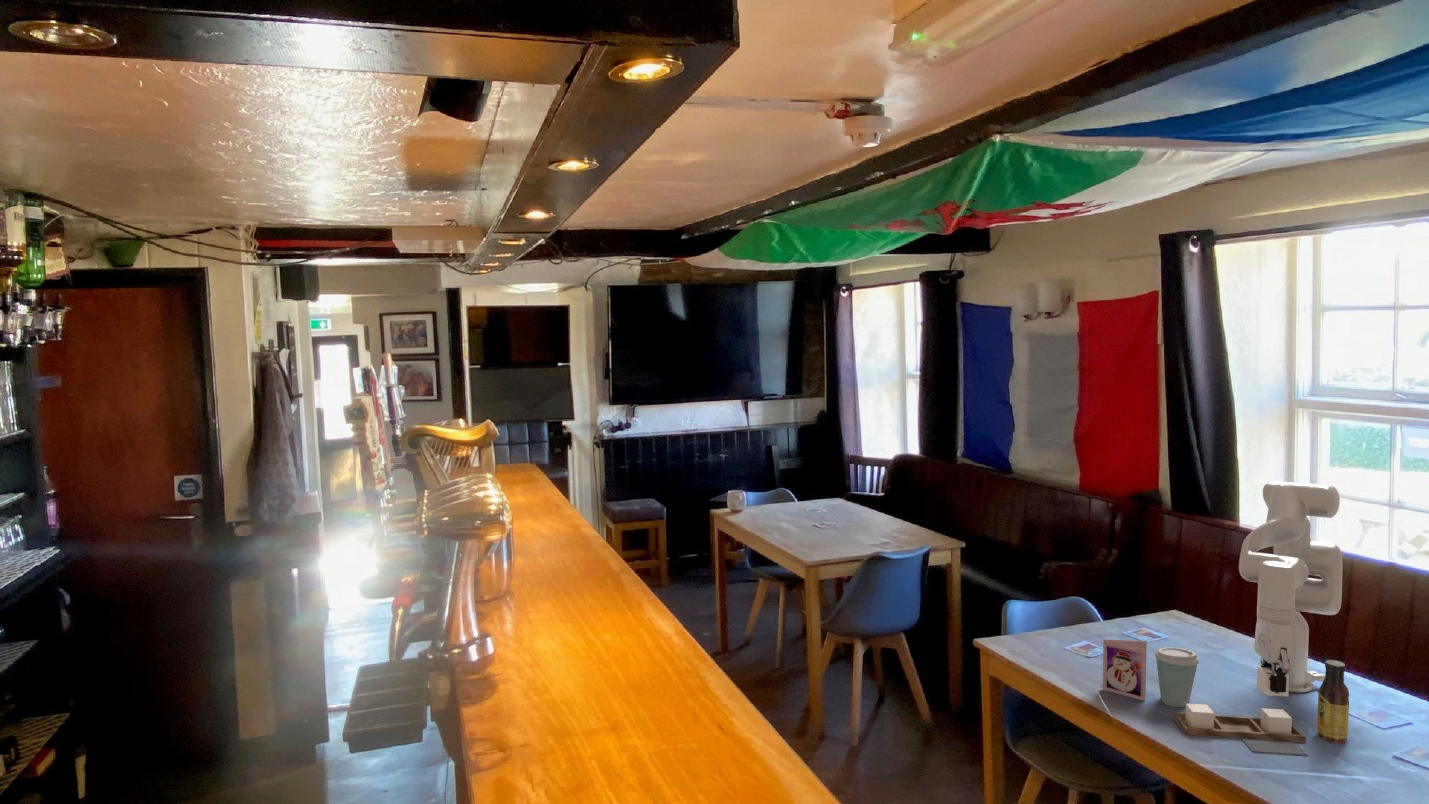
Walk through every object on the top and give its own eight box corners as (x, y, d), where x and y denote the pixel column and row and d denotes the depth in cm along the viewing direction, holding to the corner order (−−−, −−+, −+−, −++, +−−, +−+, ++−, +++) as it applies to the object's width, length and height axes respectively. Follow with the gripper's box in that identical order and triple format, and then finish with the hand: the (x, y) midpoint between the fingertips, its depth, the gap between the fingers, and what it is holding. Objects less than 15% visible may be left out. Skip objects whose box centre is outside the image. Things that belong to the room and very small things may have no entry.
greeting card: (1101, 692, 244) (1102, 640, 243) (1111, 684, 249) (1112, 633, 248) (1144, 703, 236) (1145, 650, 235) (1153, 695, 241) (1154, 643, 240)
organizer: (1288, 727, 221) (1288, 719, 221) (1305, 744, 212) (1306, 736, 211) (1172, 719, 226) (1173, 711, 226) (1185, 736, 217) (1185, 728, 217)
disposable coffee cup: (1144, 699, 239) (1145, 646, 237) (1173, 693, 242) (1174, 641, 241) (1177, 715, 229) (1178, 660, 228) (1206, 708, 233) (1208, 654, 231)
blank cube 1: (1206, 723, 223) (1207, 704, 222) (1213, 732, 218) (1214, 713, 217) (1185, 722, 224) (1185, 703, 223) (1192, 730, 219) (1192, 711, 218)
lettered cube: (1279, 688, 211) (1280, 668, 210) (1288, 696, 206) (1289, 676, 205) (1256, 686, 212) (1257, 666, 211) (1265, 695, 207) (1265, 674, 207)
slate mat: (1296, 746, 211) (1296, 743, 211) (1307, 758, 205) (1307, 754, 205) (1242, 742, 213) (1242, 739, 213) (1252, 754, 207) (1252, 750, 207)
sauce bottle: (1317, 731, 218) (1320, 655, 217) (1348, 738, 214) (1351, 660, 213) (1315, 741, 213) (1318, 663, 212) (1346, 748, 209) (1349, 669, 208)
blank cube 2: (1282, 728, 219) (1282, 709, 219) (1291, 737, 214) (1291, 718, 214) (1260, 727, 220) (1261, 708, 220) (1268, 736, 215) (1269, 716, 215)
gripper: (1244, 601, 216) (1242, 672, 218) (1272, 624, 200) (1270, 700, 201) (1277, 603, 215) (1275, 674, 216) (1309, 626, 198) (1306, 702, 200)
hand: (1272, 685), depth 209 cm, fingers closed on lettered cube, 5 cm apart
